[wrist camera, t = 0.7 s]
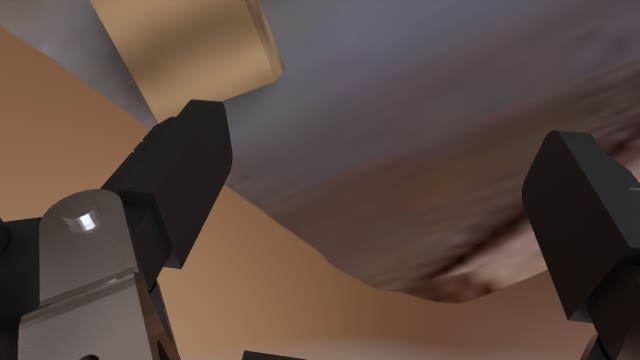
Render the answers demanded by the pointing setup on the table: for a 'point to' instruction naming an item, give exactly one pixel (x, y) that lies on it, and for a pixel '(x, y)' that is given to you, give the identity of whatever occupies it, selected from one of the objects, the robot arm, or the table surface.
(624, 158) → the table surface
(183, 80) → the oak box
